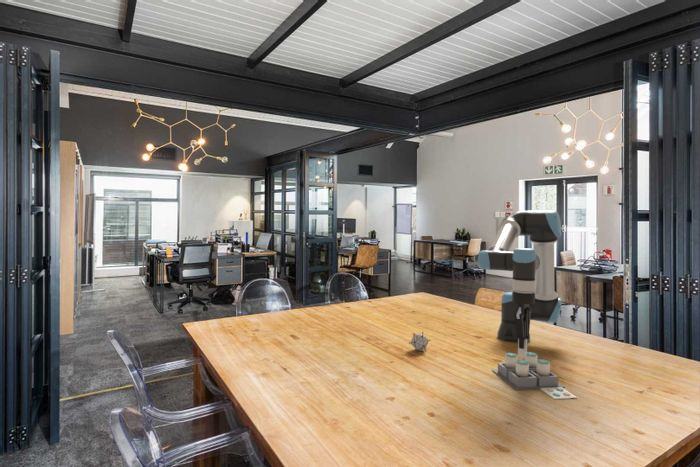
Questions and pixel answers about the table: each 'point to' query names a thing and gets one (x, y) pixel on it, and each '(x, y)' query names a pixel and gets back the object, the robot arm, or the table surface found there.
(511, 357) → the button
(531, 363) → the button
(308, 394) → the table surface
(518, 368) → the button
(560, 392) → the card
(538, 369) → the button
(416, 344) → the game die
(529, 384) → the board
